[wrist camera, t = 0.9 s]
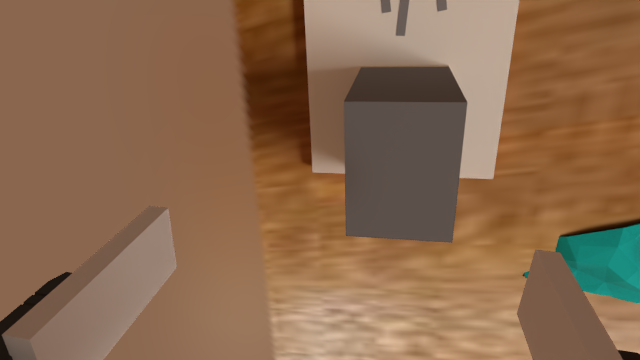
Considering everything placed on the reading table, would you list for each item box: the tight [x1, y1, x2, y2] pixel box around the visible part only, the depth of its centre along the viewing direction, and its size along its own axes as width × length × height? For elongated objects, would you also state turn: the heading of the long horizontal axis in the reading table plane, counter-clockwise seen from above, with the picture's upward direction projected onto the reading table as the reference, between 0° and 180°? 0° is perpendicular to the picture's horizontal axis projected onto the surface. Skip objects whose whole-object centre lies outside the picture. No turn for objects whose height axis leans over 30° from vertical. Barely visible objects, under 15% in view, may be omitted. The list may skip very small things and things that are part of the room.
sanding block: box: [344, 65, 468, 243], centre depth 27 cm, size 8×6×10 cm
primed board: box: [304, 0, 519, 179], centre depth 29 cm, size 22×14×1 cm, turn 2°
